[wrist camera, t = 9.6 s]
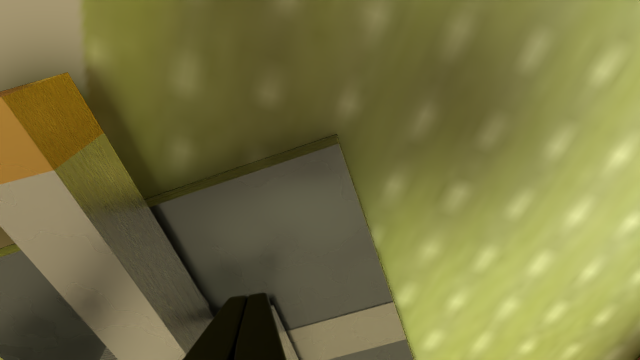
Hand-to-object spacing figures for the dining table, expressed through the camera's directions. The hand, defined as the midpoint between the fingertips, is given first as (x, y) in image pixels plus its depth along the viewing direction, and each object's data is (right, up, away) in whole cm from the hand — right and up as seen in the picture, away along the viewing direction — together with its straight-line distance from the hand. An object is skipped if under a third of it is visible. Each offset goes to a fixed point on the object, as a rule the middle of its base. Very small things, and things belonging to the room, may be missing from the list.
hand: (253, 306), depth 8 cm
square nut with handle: (-4, -2, +6) cm, 7 cm away
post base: (-3, -6, +9) cm, 11 cm away
